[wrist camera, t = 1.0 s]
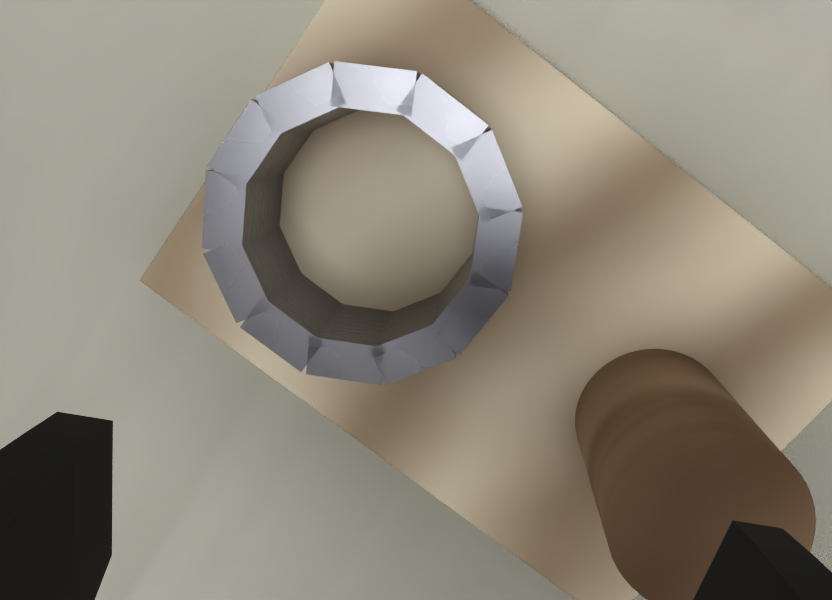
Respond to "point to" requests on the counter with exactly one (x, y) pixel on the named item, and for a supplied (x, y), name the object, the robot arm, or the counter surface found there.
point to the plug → (679, 470)
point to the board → (516, 279)
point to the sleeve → (276, 266)
